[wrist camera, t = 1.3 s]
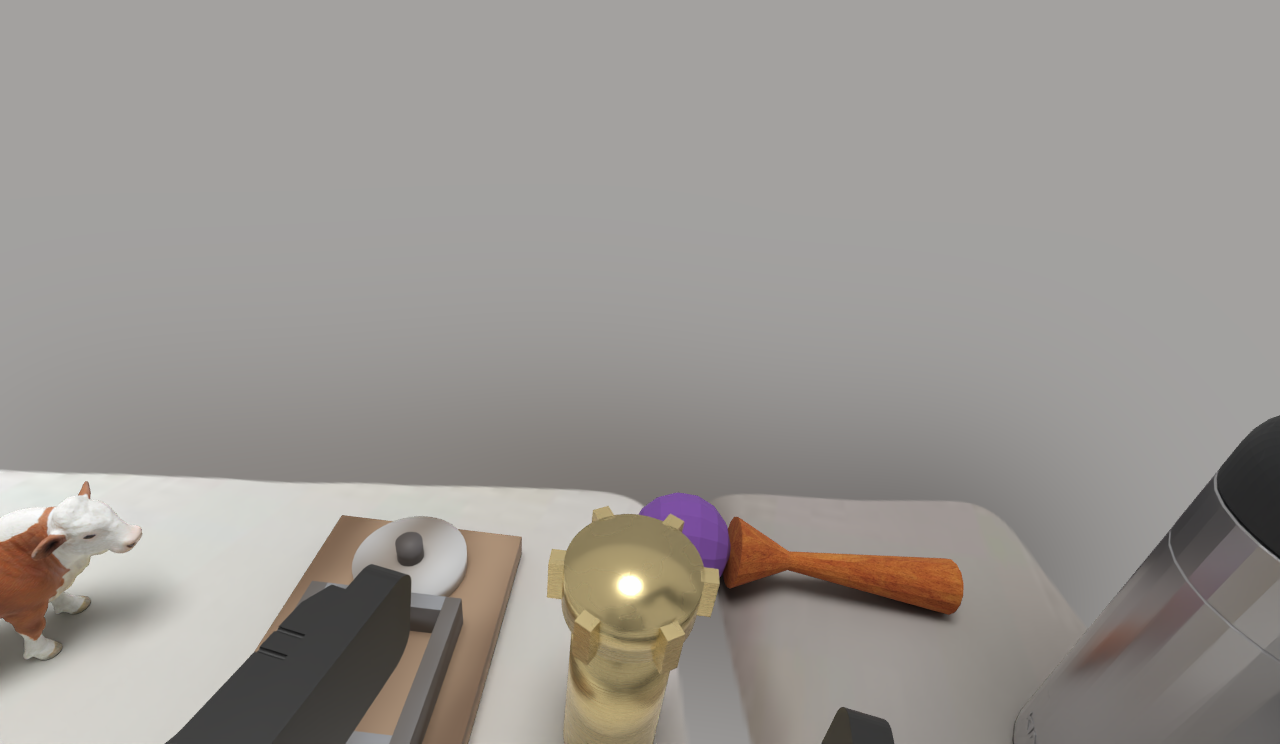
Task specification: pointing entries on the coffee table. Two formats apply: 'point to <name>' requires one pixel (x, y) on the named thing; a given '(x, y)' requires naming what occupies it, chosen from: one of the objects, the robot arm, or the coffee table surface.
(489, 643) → the board
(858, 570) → the kendama
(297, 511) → the coffee table surface
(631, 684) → the brass pinion
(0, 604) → the bull figurine
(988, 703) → the coffee table surface
